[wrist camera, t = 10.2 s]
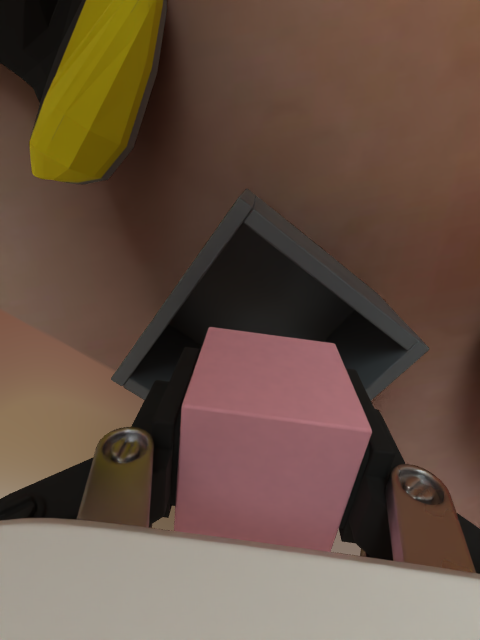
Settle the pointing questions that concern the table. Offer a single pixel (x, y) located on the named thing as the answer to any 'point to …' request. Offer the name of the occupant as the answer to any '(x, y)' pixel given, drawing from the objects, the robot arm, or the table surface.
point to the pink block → (268, 441)
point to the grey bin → (272, 303)
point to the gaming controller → (83, 78)
